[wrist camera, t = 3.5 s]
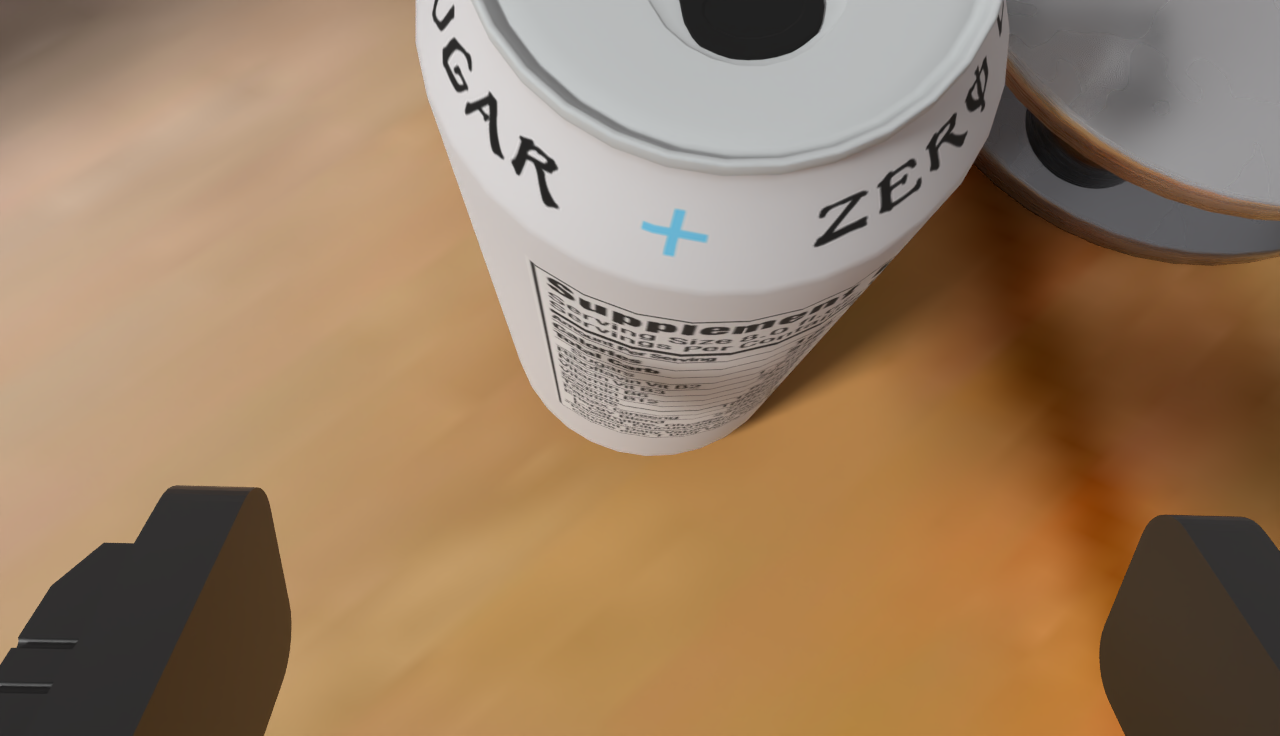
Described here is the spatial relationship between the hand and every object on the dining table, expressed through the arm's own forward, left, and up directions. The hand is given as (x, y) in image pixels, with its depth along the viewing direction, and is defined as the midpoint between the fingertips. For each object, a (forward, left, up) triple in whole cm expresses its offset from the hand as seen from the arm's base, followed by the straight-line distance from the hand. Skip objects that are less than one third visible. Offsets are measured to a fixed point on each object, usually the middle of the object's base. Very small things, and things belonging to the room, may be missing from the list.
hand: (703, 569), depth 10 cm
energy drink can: (0, +6, -13) cm, 14 cm away
